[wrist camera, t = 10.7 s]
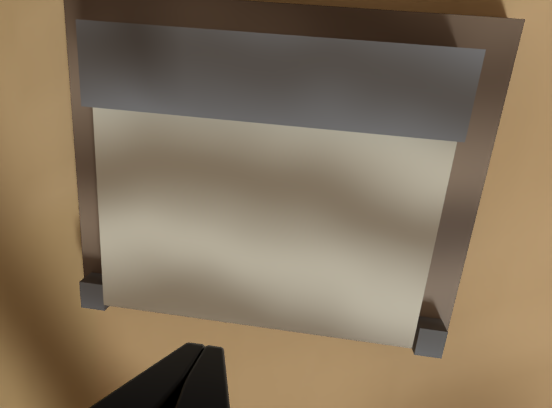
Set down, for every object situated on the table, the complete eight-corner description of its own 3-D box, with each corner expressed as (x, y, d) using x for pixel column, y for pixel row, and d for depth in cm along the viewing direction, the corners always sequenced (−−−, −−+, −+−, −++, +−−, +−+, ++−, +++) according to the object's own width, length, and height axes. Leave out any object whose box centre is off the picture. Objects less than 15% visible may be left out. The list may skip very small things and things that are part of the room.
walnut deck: (435, 335, 20) (448, 365, 17) (98, 289, 21) (74, 311, 19) (509, 24, 15) (539, 14, 13) (80, -5, 17) (46, -19, 15)
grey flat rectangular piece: (404, 328, 18) (415, 359, 16) (119, 289, 19) (94, 314, 17) (461, 55, 15) (485, 49, 12) (108, 28, 16) (75, 19, 14)
